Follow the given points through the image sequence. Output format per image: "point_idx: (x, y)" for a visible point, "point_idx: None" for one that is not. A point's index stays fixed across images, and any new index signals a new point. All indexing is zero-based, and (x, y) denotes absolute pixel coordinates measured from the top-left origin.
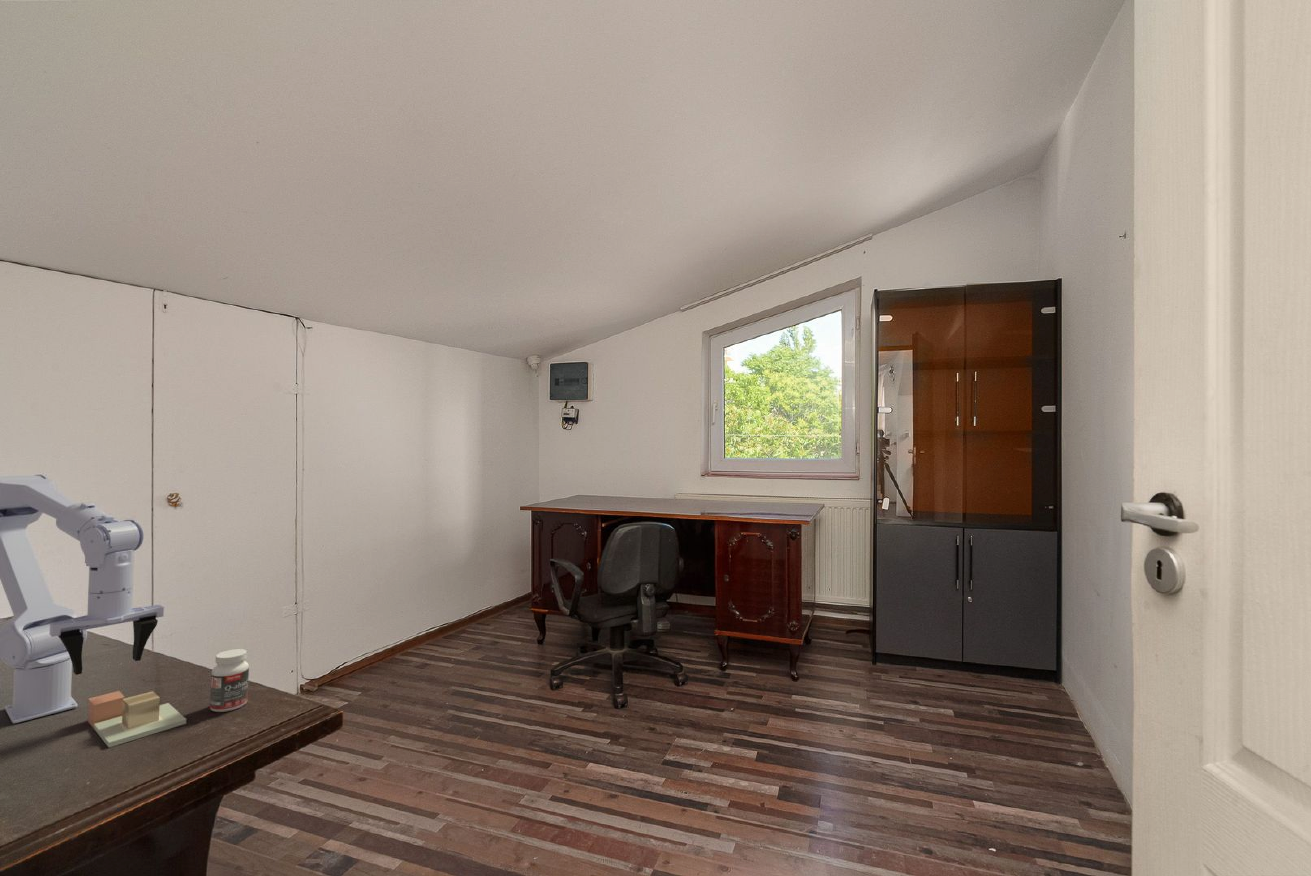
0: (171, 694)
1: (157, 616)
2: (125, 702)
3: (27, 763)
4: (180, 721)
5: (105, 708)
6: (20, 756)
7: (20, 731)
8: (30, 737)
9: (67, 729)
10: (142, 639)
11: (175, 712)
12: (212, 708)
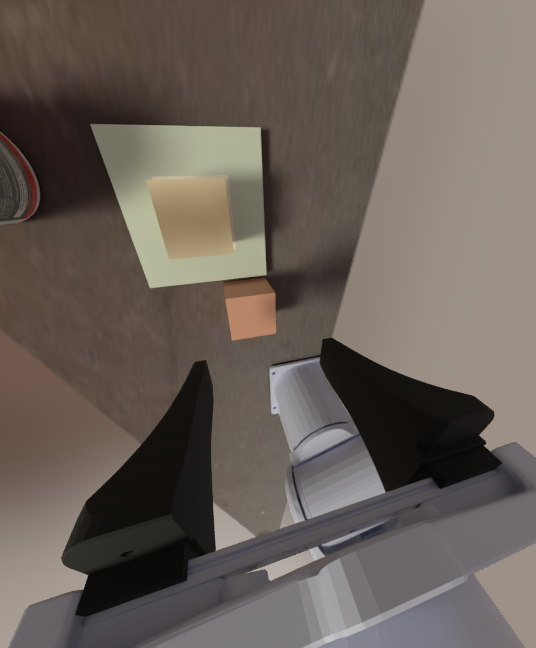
0: (151, 344)
1: (67, 604)
2: (230, 225)
3: (356, 189)
4: (106, 126)
5: (254, 289)
6: (351, 234)
7: (326, 330)
8: (325, 301)
9: (290, 297)
10: (181, 418)
11: (127, 210)
12: (20, 156)
